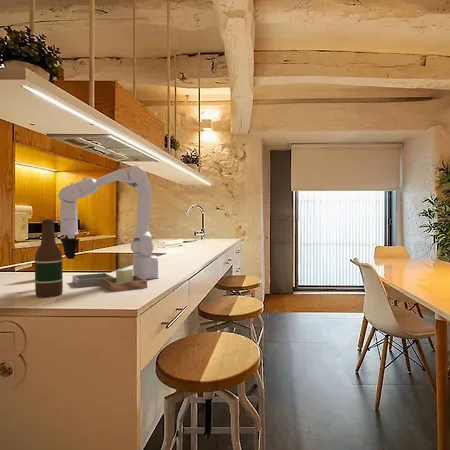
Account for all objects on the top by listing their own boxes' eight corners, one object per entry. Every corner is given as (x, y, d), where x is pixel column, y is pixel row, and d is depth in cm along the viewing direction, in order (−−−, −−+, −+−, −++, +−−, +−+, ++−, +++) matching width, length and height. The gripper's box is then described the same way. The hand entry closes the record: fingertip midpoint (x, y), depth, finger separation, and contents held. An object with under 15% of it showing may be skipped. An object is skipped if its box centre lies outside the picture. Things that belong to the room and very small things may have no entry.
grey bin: (105, 279, 145) (105, 272, 145) (113, 283, 135) (113, 277, 135) (72, 282, 139) (72, 275, 139) (78, 287, 129) (77, 280, 129)
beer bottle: (68, 293, 118) (66, 218, 118) (49, 298, 111) (47, 218, 111) (49, 292, 121) (47, 218, 120) (29, 296, 114) (28, 219, 113)
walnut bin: (136, 282, 137) (136, 275, 137) (147, 287, 127) (147, 280, 127) (102, 285, 131) (102, 278, 131) (111, 291, 121) (111, 283, 121)
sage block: (132, 286, 130) (132, 269, 130) (124, 288, 126) (124, 270, 126) (124, 285, 132) (124, 268, 132) (116, 287, 128) (115, 270, 128)
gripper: (55, 219, 136) (56, 256, 137) (58, 220, 124) (59, 260, 124) (75, 219, 140) (76, 255, 140) (80, 219, 127) (81, 259, 127)
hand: (69, 257), depth 132 cm, fingers open, 7 cm apart
